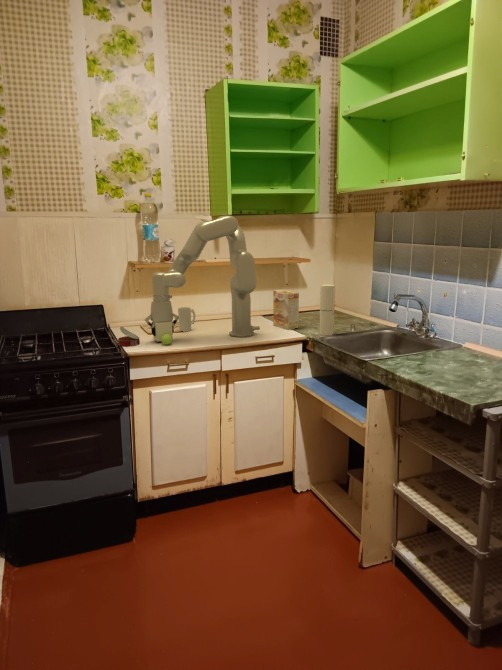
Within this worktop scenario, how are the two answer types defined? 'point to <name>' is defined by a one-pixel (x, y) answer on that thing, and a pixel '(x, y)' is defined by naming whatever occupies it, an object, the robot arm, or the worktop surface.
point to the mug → (185, 318)
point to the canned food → (128, 338)
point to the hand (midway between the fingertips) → (162, 334)
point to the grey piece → (162, 330)
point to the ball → (166, 339)
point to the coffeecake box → (285, 309)
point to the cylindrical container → (327, 309)
